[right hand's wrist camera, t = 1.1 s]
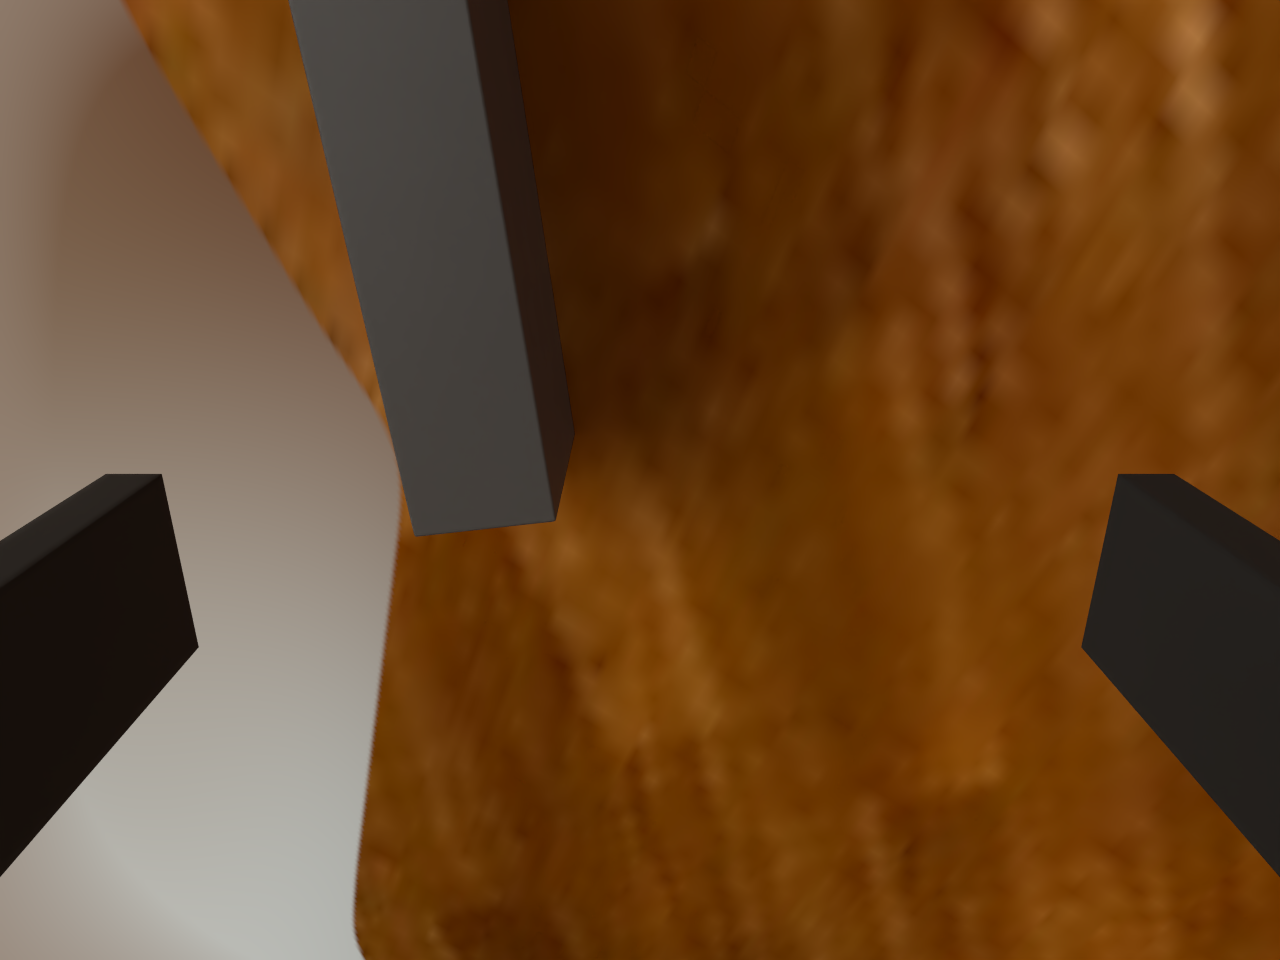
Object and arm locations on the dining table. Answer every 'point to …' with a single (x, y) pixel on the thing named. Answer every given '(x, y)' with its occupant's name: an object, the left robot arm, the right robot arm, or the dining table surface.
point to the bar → (445, 251)
